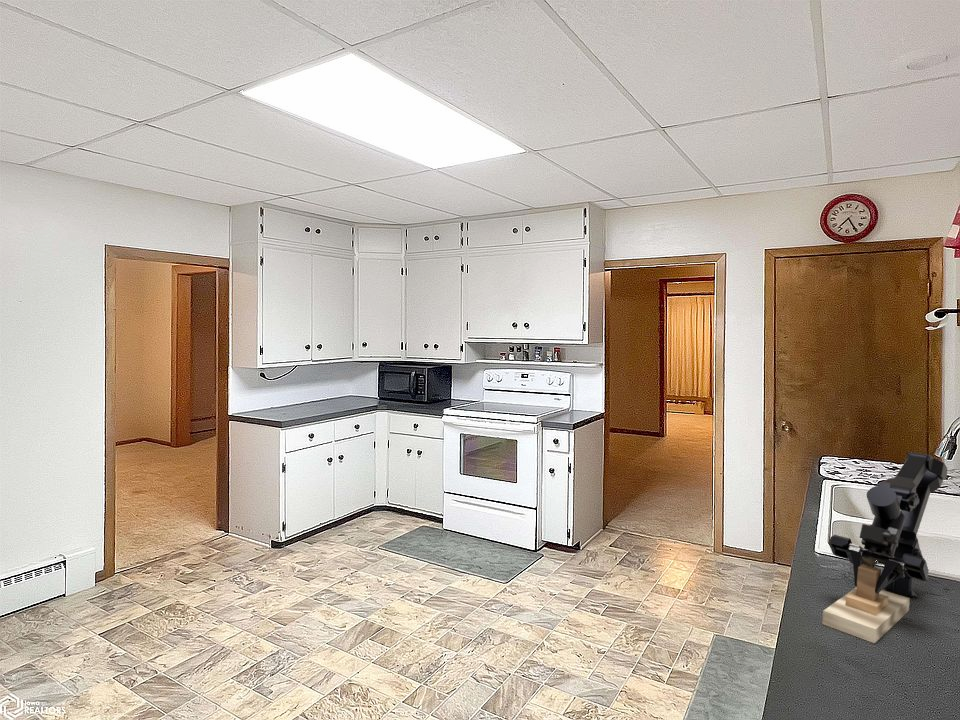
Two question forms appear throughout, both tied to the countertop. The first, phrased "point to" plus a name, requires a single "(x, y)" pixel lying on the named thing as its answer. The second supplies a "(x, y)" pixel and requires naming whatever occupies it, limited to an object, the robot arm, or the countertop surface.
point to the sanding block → (867, 592)
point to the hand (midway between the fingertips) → (865, 589)
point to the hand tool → (868, 562)
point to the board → (866, 617)
